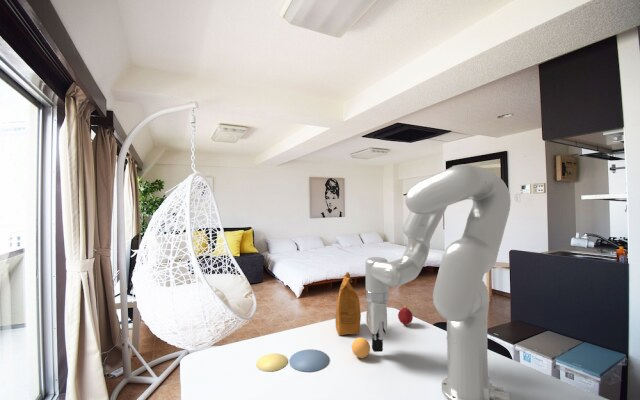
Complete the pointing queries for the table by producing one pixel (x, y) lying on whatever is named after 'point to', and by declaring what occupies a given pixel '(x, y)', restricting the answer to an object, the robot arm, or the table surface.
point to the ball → (360, 347)
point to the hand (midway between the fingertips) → (377, 350)
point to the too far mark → (272, 362)
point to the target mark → (309, 360)
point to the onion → (405, 316)
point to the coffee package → (347, 309)
